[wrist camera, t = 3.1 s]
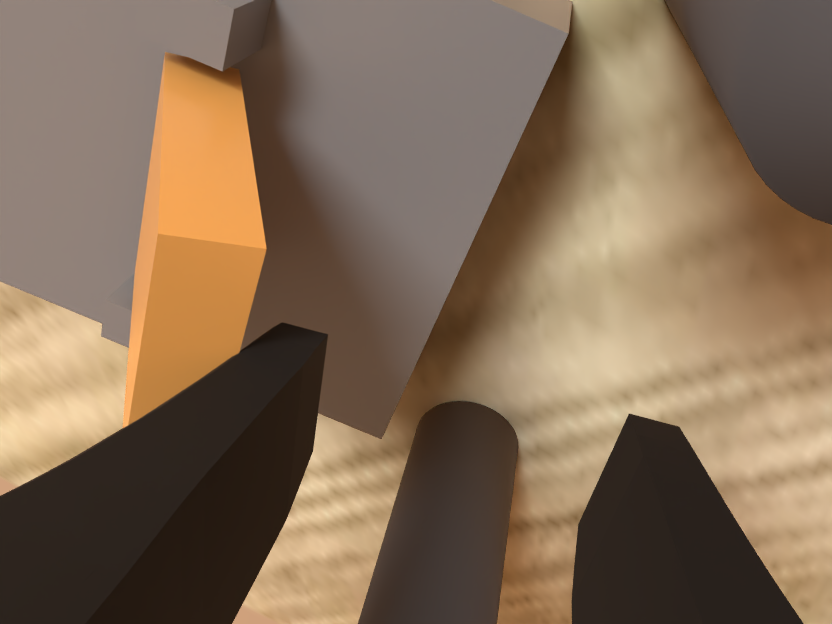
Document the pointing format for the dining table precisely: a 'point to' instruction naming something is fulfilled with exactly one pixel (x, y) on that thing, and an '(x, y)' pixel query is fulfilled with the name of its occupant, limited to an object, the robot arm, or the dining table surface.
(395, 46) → the switch box
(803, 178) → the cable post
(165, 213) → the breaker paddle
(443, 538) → the cylinder
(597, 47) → the dining table surface
